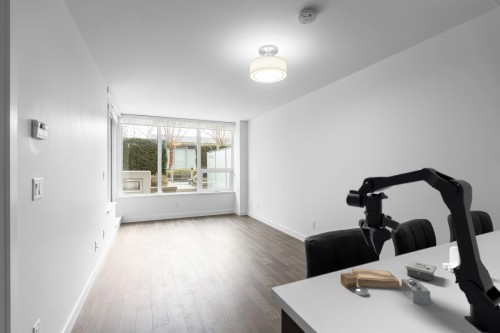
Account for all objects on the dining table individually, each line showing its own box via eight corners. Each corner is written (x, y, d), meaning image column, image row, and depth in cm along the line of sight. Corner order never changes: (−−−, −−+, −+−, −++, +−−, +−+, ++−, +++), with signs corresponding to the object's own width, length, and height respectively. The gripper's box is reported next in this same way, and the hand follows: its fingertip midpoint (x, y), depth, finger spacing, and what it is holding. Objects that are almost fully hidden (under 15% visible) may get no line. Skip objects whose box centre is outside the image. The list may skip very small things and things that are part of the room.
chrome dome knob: (369, 297, 82) (369, 293, 82) (356, 296, 83) (356, 292, 83) (365, 291, 86) (365, 287, 86) (353, 290, 87) (353, 286, 87)
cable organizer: (442, 267, 106) (441, 244, 106) (466, 268, 105) (466, 245, 105) (450, 272, 101) (450, 248, 101) (476, 273, 100) (476, 249, 100)
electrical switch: (434, 273, 92) (405, 261, 98) (430, 285, 92) (402, 274, 98) (437, 265, 98) (410, 255, 105) (434, 277, 99) (408, 267, 105)
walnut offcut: (356, 288, 89) (356, 277, 89) (346, 289, 88) (346, 278, 88) (350, 283, 92) (350, 272, 92) (340, 284, 92) (340, 273, 92)
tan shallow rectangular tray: (399, 288, 88) (399, 280, 88) (358, 285, 90) (358, 278, 90) (389, 277, 97) (389, 270, 97) (351, 275, 99) (351, 268, 99)
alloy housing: (430, 305, 78) (430, 289, 78) (413, 304, 78) (413, 287, 78) (417, 292, 85) (417, 277, 85) (401, 291, 86) (401, 276, 86)
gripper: (408, 215, 83) (408, 261, 83) (386, 206, 102) (386, 243, 102) (373, 214, 85) (373, 259, 85) (358, 205, 103) (358, 242, 103)
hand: (373, 250), depth 94 cm, fingers open, 9 cm apart
